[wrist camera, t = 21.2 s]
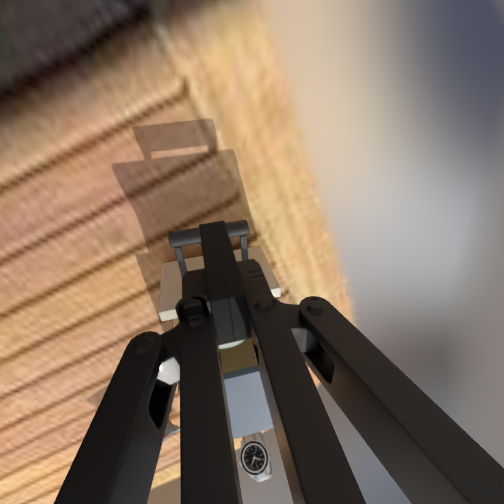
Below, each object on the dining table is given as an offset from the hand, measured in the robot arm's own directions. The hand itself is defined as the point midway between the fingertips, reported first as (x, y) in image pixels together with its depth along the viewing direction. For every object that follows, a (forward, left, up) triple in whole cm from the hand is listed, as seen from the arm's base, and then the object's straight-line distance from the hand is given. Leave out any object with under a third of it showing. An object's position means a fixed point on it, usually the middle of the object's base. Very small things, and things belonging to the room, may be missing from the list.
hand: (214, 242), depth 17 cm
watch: (+47, -7, -13) cm, 50 cm away
